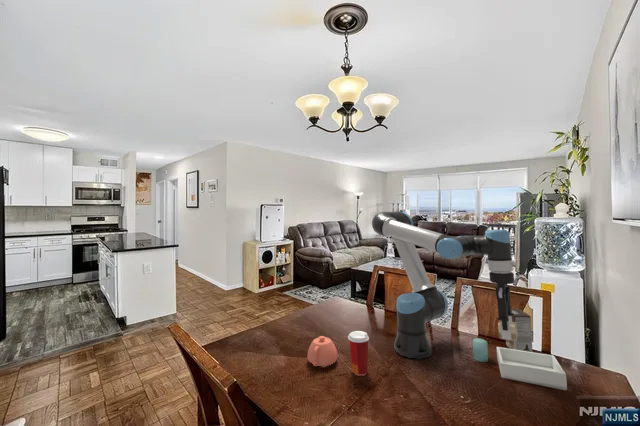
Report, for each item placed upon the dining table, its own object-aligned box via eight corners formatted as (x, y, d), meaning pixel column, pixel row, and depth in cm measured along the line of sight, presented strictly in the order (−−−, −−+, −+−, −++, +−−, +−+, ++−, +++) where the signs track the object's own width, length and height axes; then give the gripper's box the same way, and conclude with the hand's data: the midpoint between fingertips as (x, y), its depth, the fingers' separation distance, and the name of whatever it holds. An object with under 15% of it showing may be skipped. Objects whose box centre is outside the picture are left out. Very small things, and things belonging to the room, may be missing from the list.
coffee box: (505, 345, 119) (503, 308, 119) (521, 346, 118) (519, 308, 118) (516, 355, 110) (513, 315, 110) (534, 356, 109) (531, 315, 109)
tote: (501, 377, 95) (500, 363, 95) (497, 359, 107) (496, 346, 107) (567, 390, 87) (566, 374, 87) (554, 369, 99) (553, 355, 99)
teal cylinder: (473, 360, 107) (472, 342, 107) (473, 354, 112) (472, 337, 112) (488, 363, 105) (487, 344, 105) (487, 357, 109) (486, 339, 110)
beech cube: (516, 341, 95) (514, 326, 95) (499, 338, 98) (497, 324, 98) (517, 336, 99) (516, 322, 99) (501, 334, 102) (499, 320, 102)
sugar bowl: (342, 358, 113) (341, 333, 113) (329, 375, 100) (328, 347, 101) (315, 353, 118) (315, 329, 118) (300, 369, 105) (299, 342, 106)
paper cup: (371, 368, 104) (370, 331, 104) (368, 379, 97) (366, 339, 97) (351, 365, 107) (350, 329, 107) (347, 376, 99) (345, 337, 100)
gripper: (510, 276, 91) (517, 347, 89) (516, 268, 104) (522, 330, 103) (484, 274, 96) (491, 342, 94) (493, 267, 109) (499, 326, 108)
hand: (507, 336), depth 98 cm, fingers closed on beech cube, 5 cm apart
